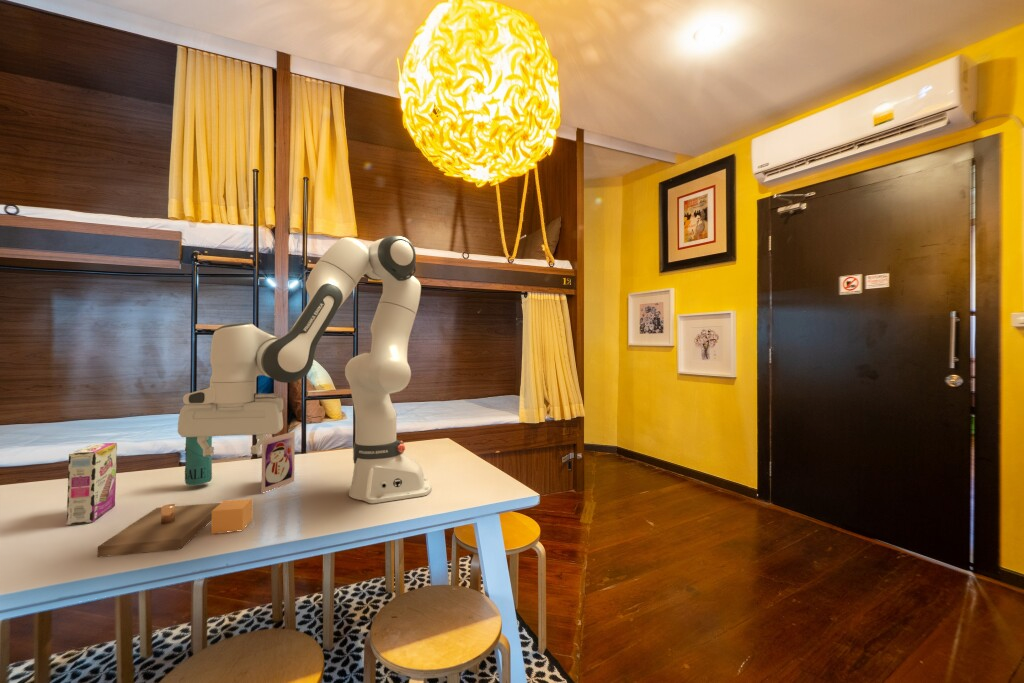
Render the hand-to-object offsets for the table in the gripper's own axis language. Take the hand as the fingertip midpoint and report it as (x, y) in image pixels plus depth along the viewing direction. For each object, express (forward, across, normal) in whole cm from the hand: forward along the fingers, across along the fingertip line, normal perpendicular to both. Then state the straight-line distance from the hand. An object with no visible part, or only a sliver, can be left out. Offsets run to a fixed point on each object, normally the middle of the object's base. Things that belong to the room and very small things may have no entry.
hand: (232, 454), depth 95 cm
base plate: (+16, +13, -1) cm, 21 cm away
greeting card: (+16, 0, -28) cm, 33 cm away
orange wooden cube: (+16, 0, 0) cm, 16 cm away
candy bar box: (+17, +35, -15) cm, 41 cm away
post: (+15, +13, -1) cm, 19 cm away
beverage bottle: (+17, +20, -32) cm, 41 cm away
